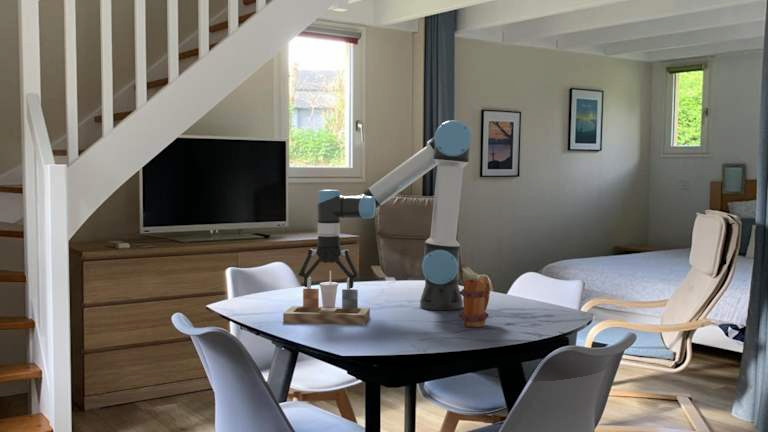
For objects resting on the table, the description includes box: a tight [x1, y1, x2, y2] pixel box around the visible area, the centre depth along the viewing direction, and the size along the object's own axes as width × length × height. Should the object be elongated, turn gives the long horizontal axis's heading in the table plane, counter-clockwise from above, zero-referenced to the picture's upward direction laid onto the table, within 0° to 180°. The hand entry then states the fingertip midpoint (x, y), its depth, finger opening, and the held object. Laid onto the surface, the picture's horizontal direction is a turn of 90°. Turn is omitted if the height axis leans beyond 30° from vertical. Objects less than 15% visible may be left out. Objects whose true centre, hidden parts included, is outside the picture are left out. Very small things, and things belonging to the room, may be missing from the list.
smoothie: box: [319, 270, 339, 307], centre depth 271 cm, size 6×6×14 cm
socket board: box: [282, 288, 371, 325], centre depth 256 cm, size 26×13×9 cm, turn 84°
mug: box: [458, 275, 491, 328], centre depth 249 cm, size 15×8×15 cm, turn 148°
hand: (328, 297), depth 271 cm, fingers open, 13 cm apart
